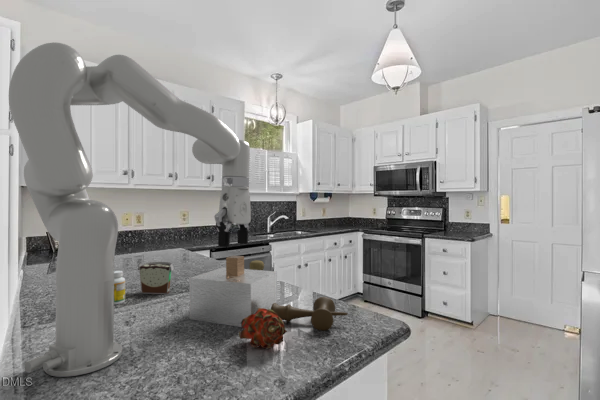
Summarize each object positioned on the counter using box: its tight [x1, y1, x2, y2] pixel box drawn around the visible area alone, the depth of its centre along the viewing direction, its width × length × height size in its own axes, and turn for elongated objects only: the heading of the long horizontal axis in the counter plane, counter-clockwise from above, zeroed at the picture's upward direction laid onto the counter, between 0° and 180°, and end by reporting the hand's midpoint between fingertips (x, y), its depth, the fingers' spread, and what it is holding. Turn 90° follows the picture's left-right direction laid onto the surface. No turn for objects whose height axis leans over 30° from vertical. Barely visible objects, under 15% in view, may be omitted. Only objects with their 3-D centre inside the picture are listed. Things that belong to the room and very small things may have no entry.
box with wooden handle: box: [189, 255, 278, 328], centre depth 90 cm, size 16×19×16 cm
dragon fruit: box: [238, 308, 288, 349], centre depth 71 cm, size 8×8×12 cm
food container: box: [137, 261, 174, 295], centre depth 114 cm, size 12×6×10 cm, turn 84°
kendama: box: [271, 296, 349, 331], centre depth 83 cm, size 6×10×20 cm
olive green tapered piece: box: [248, 259, 265, 271], centre depth 113 cm, size 6×6×11 cm
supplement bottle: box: [114, 270, 126, 306], centre depth 101 cm, size 5×5×10 cm
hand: (233, 244), depth 90 cm, fingers open, 9 cm apart
